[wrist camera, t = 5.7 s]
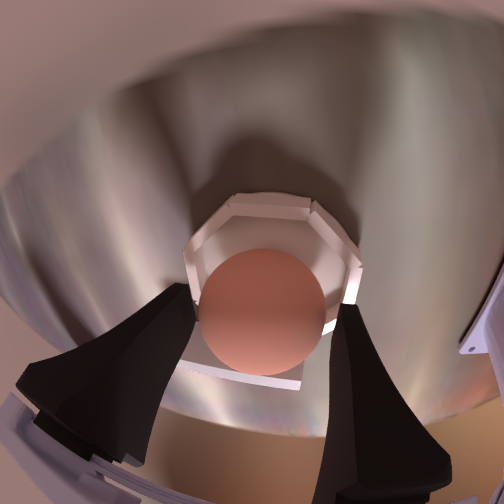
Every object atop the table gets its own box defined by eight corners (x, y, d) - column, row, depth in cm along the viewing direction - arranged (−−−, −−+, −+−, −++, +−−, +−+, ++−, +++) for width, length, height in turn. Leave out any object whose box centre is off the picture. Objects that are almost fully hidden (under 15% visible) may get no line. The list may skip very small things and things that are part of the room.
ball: (333, 231, 11) (338, 321, 7) (319, 317, 14) (312, 404, 10) (214, 221, 12) (163, 299, 8) (224, 306, 15) (192, 385, 11)
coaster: (368, 199, 10) (373, 214, 9) (340, 330, 15) (340, 350, 13) (188, 188, 12) (174, 200, 11) (208, 313, 16) (200, 330, 15)
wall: (307, 337, 15) (301, 381, 13) (305, 348, 16) (299, 390, 14) (178, 317, 17) (157, 353, 15) (181, 327, 18) (162, 363, 15)
